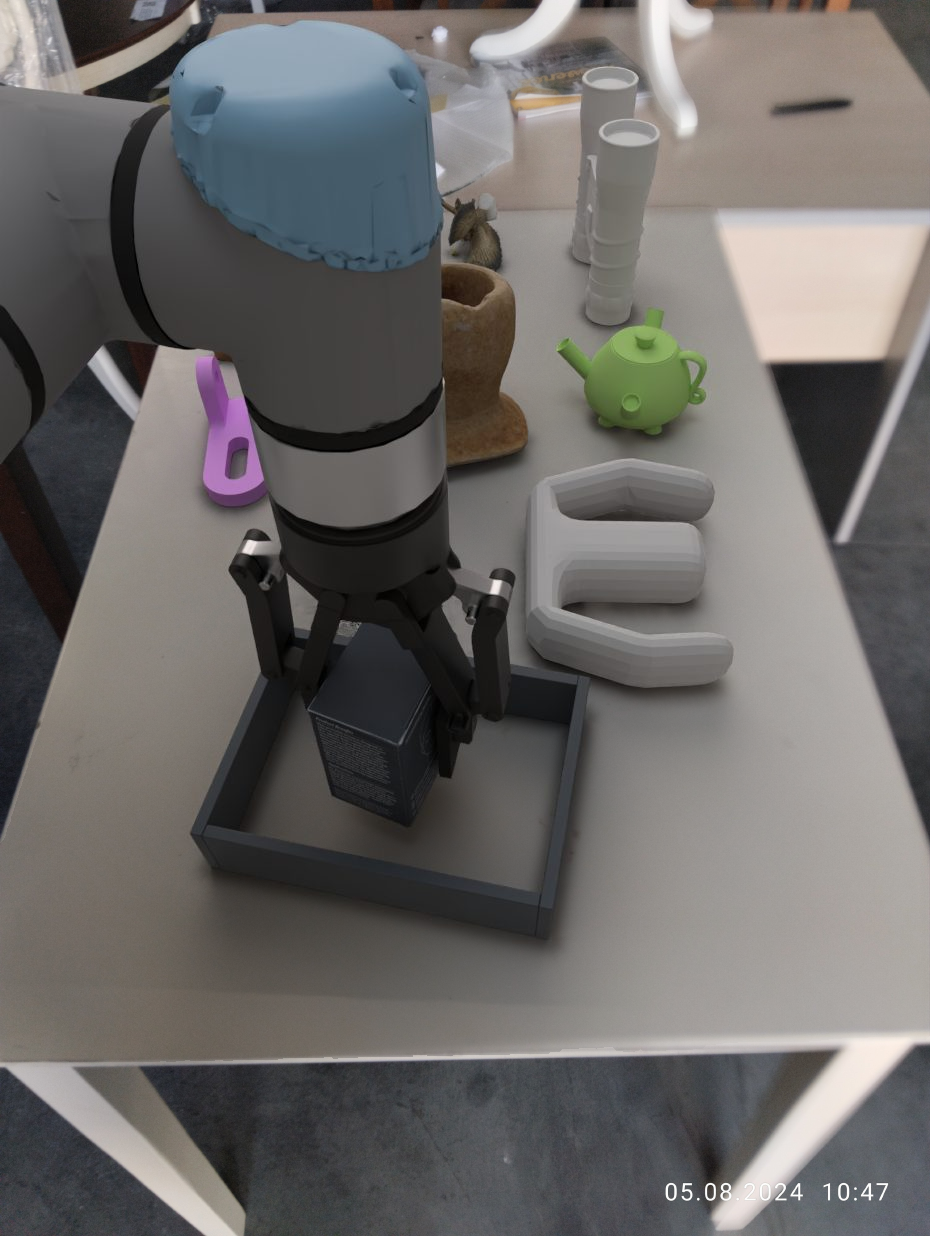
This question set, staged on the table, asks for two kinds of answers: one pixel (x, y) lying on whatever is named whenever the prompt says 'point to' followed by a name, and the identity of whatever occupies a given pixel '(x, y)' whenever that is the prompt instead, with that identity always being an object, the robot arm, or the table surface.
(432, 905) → the bin
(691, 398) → the teapot
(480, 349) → the stone cup
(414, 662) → the box
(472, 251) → the animal head figurine
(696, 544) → the grey letter e
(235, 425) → the bracket
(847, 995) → the table surface
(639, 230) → the binoculars
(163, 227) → the robot arm
